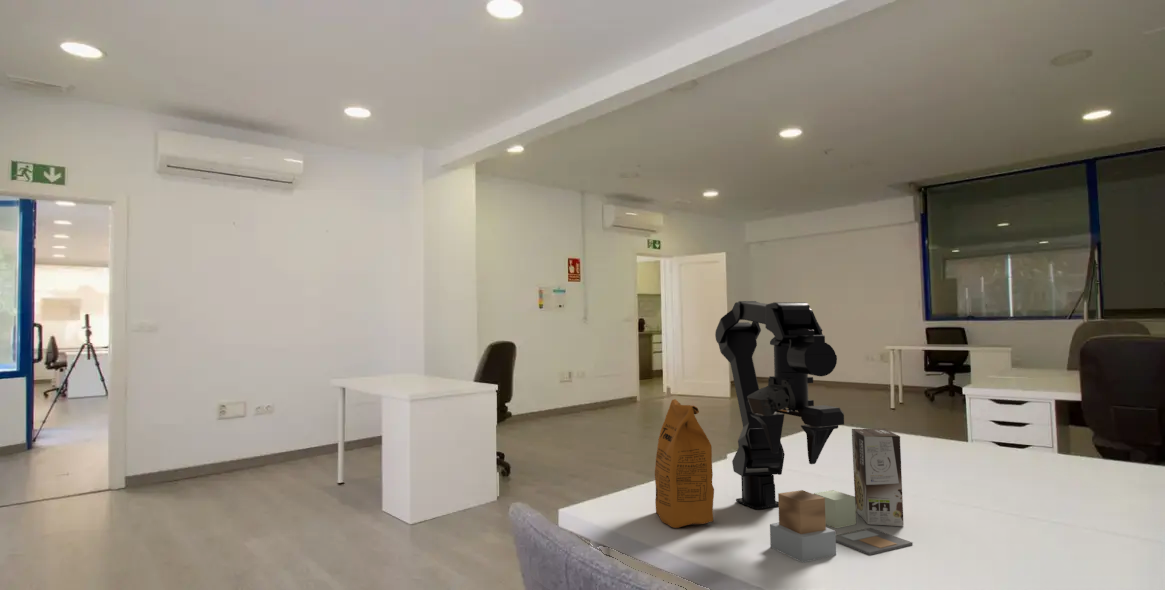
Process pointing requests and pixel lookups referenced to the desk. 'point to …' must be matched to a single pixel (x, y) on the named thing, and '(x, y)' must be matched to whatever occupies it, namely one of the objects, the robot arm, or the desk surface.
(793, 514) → the walnut block
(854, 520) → the sage block
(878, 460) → the coffee box
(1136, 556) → the desk surface
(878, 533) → the card
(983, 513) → the desk surface
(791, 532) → the slate base block
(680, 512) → the coffee package
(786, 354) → the robot arm
